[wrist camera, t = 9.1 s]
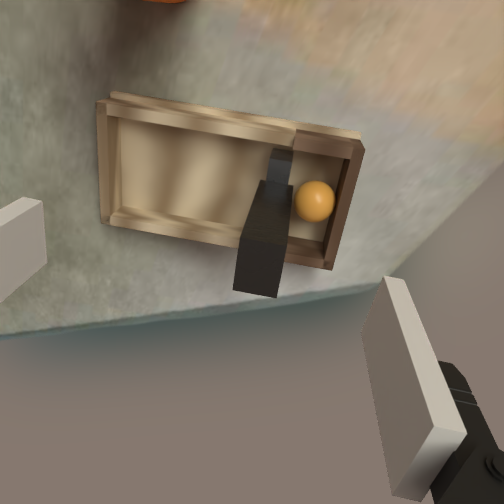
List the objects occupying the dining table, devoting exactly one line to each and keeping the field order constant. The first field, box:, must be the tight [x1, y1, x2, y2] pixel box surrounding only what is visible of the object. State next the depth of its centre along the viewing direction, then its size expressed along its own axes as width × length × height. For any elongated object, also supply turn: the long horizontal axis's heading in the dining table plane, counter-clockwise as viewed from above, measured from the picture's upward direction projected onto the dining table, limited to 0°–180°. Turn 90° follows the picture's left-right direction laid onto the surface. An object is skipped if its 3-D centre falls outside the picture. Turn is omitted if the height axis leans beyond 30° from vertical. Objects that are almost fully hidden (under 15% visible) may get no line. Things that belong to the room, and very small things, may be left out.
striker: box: [233, 148, 294, 298], centre depth 33 cm, size 3×8×16 cm, turn 172°
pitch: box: [96, 91, 365, 271], centre depth 39 cm, size 24×13×5 cm, turn 82°
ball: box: [294, 180, 336, 222], centre depth 38 cm, size 4×4×4 cm
